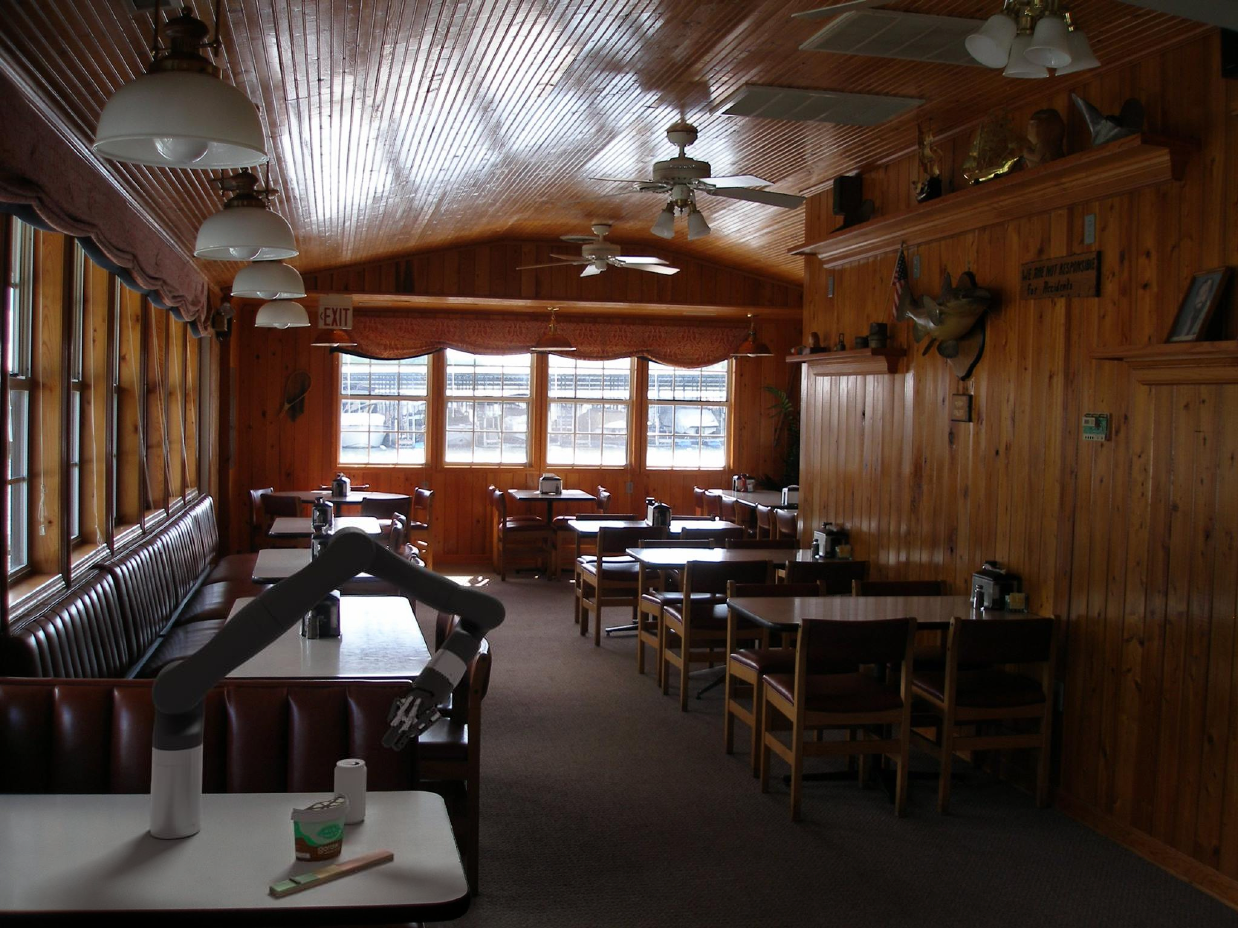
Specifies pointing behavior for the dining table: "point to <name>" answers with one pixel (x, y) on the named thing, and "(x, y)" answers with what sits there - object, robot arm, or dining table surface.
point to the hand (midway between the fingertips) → (390, 746)
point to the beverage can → (352, 787)
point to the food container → (320, 829)
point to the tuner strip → (330, 873)
